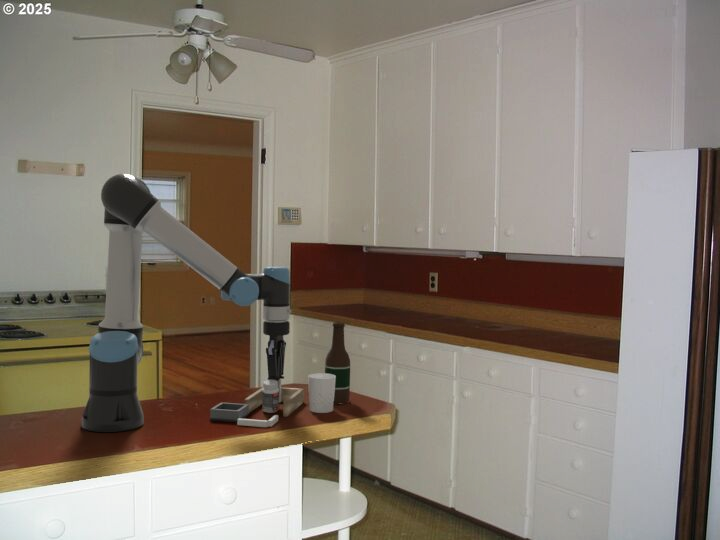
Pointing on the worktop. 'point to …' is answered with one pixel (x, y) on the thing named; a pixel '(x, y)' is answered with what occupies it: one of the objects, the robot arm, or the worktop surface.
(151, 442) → the worktop surface
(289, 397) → the cubby
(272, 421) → the white l-shaped block
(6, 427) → the worktop surface
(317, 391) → the white cup
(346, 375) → the beer bottle
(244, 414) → the bin
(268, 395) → the pill bottle
